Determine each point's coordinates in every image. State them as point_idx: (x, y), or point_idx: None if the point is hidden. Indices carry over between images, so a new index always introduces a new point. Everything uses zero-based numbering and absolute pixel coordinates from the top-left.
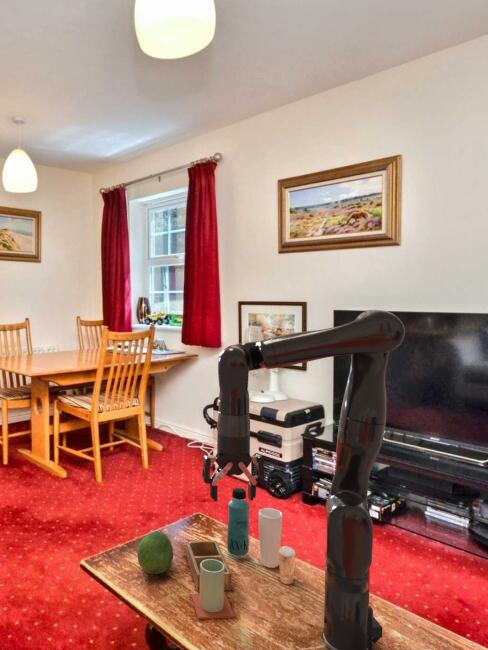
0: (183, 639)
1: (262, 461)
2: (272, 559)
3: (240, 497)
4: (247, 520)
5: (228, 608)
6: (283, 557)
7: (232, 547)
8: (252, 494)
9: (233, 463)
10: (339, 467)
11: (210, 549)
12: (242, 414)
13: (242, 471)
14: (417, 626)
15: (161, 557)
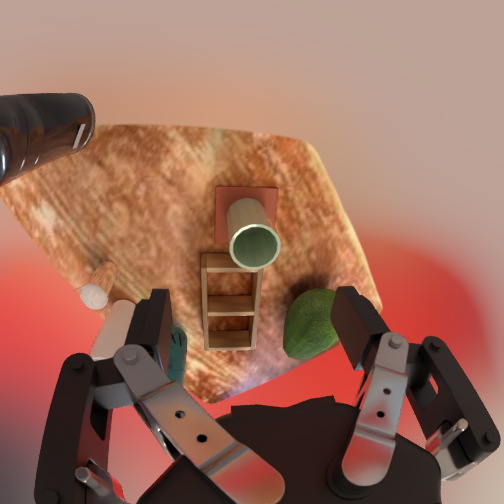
0: (312, 147)
1: (44, 480)
2: (120, 307)
3: None
4: None
5: (221, 205)
6: (102, 286)
7: (180, 336)
8: (153, 306)
9: (316, 485)
10: None
11: (215, 338)
12: None
13: (220, 432)
14: None
15: (318, 303)
